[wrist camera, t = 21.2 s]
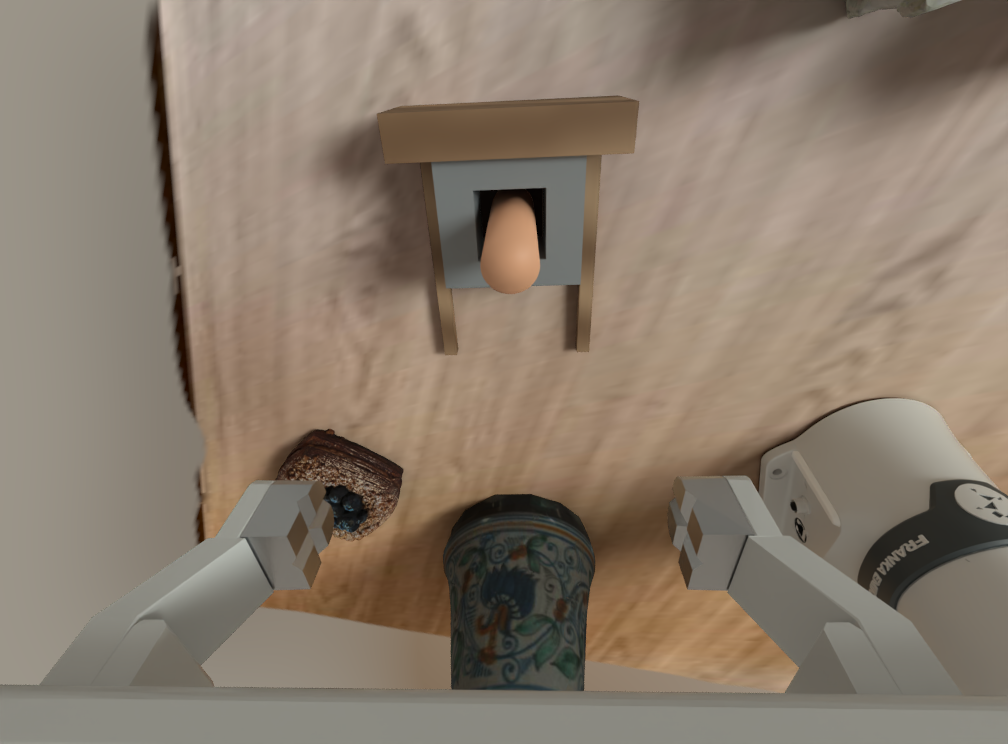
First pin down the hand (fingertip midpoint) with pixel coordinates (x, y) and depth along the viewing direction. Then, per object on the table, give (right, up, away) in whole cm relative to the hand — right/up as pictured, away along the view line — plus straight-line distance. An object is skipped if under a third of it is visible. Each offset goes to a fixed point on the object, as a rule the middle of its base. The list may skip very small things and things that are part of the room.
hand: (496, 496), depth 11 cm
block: (+1, +15, +23) cm, 27 cm away
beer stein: (+2, -18, +44) cm, 47 cm away
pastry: (-17, -8, +38) cm, 43 cm away
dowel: (+1, +15, +23) cm, 27 cm away
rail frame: (+1, +13, +24) cm, 27 cm away
